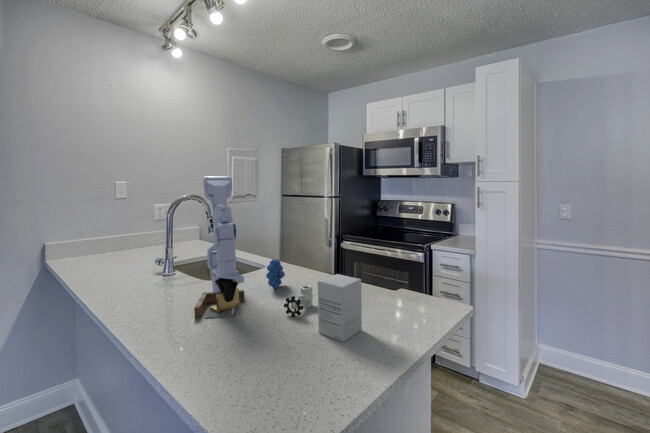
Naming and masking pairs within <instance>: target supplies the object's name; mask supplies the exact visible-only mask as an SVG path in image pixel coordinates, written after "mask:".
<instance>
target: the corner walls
mask: <svg viewBox="0 0 650 433" xmlns="http://www.w3.org/2000/svg"><path fill="white" fill-rule="evenodd" d="M220 293H221V292H211V291H210V292H202V293H201V295H200V297H199V299H198V301H197V302H196V304H195V306H194V309H193V311H194V319H196V320H197V319H199V320H200V319H201V317H202V315H203V313H204V311H205V309H206V307H207V305H208V304H210V305H211V304H217V302H216V295H217V294H220ZM245 300H246V299H245V290H244V289H241V290H240V289H239V302H245Z"/></svg>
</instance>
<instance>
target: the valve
mask: <svg viewBox="0 0 650 433" xmlns="http://www.w3.org/2000/svg"><path fill="white" fill-rule="evenodd" d="M313 299H314V296H313V286H311V285H302V286H301V287H300V295H299V296H298V297H297V299H296V296H295V295H293V296H292V295H291V297H286V298H285V302H286V303H284V304H283V305H282V306H283V308H286V310H285V313H286V314H291V317H292V318H295V317H296V316H297V317H299V316H300V315H302V310H303V309H306V308H307V309H308V308H311V307H312V306H313Z"/></svg>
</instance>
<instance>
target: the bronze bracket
mask: <svg viewBox="0 0 650 433" xmlns="http://www.w3.org/2000/svg"><path fill="white" fill-rule="evenodd" d="M239 290H240V289H239V287H236V290H235V294H234V298H233V301H230V302H227V301H226V296H225V292H223V293H220V294H217V295H216V302H217V303H216V304H217V305H214V306H211V307H210V306H209V307H210V310H211V311H214V312H216V313H222V312H224V311H227V310H230V309H232V308H235V307H237V308H238V307H239V306H240V301H239Z"/></svg>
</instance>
